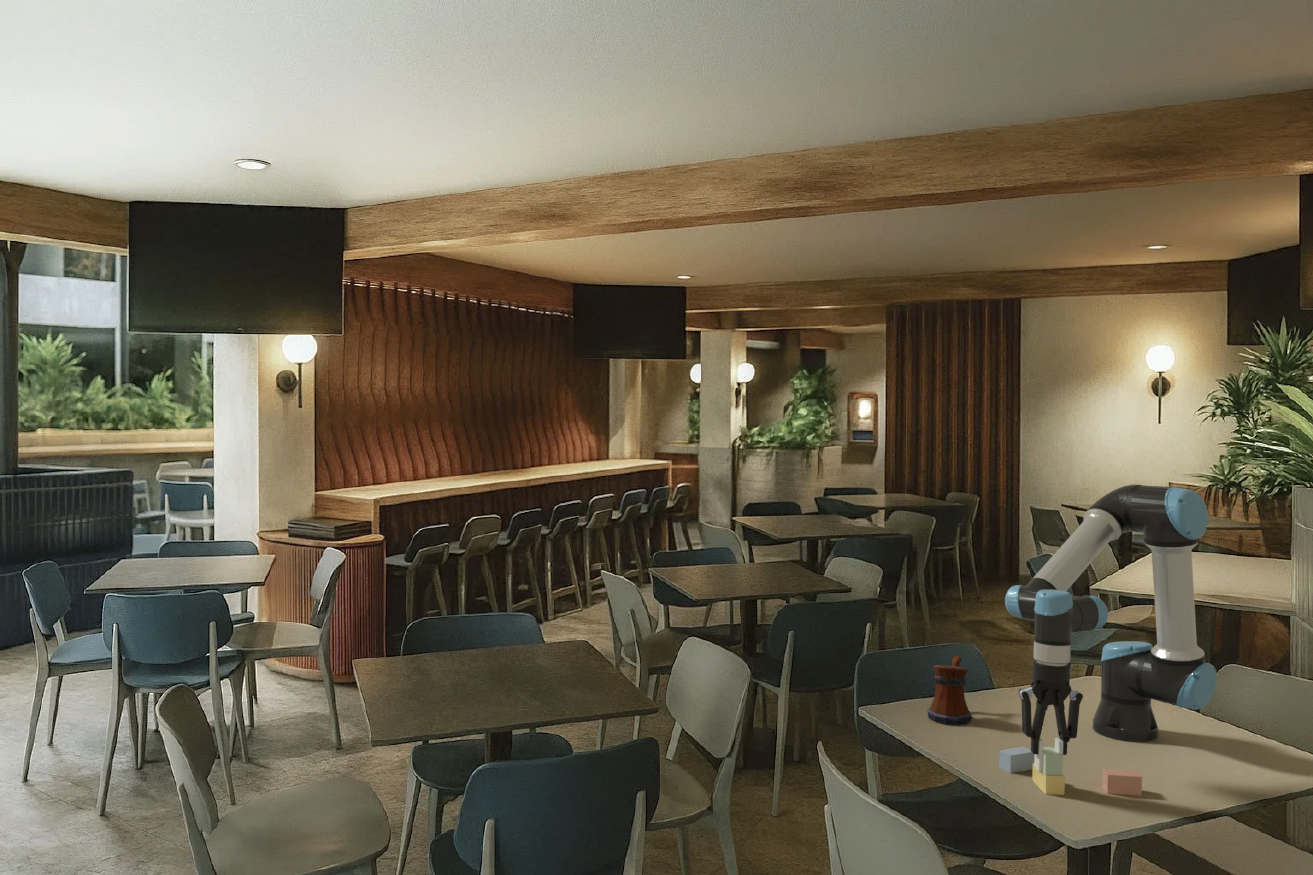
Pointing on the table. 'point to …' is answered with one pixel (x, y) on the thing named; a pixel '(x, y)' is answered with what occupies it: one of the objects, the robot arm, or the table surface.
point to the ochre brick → (1049, 782)
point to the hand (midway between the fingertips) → (1048, 768)
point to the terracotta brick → (1122, 782)
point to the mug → (950, 695)
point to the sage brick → (1052, 761)
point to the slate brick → (1016, 759)
